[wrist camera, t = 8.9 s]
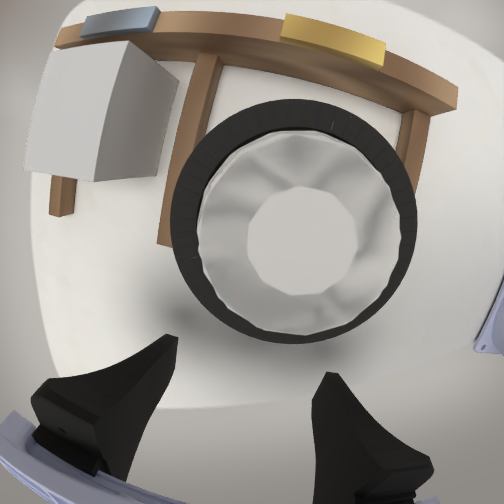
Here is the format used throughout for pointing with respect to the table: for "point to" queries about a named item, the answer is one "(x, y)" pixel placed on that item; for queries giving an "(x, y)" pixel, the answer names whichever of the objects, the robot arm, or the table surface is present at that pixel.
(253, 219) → the push button
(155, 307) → the table surface
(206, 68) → the wooden bench frame
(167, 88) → the grey plug block
